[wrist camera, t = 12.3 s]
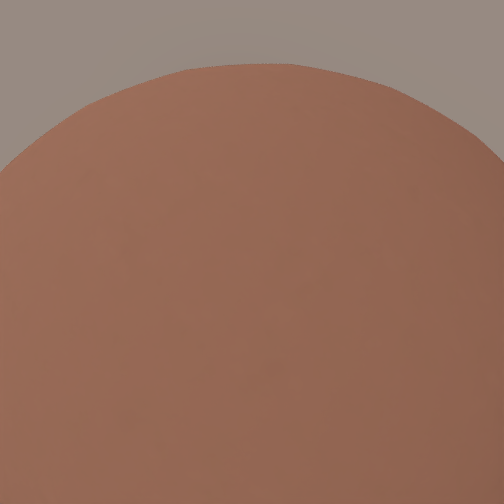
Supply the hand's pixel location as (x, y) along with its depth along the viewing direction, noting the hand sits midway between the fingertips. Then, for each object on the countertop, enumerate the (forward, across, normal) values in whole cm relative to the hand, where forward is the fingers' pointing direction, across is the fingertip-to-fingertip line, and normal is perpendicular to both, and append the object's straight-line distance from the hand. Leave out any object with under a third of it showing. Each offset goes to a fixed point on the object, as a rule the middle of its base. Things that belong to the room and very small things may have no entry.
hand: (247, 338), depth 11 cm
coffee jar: (+4, 0, -8) cm, 9 cm away
